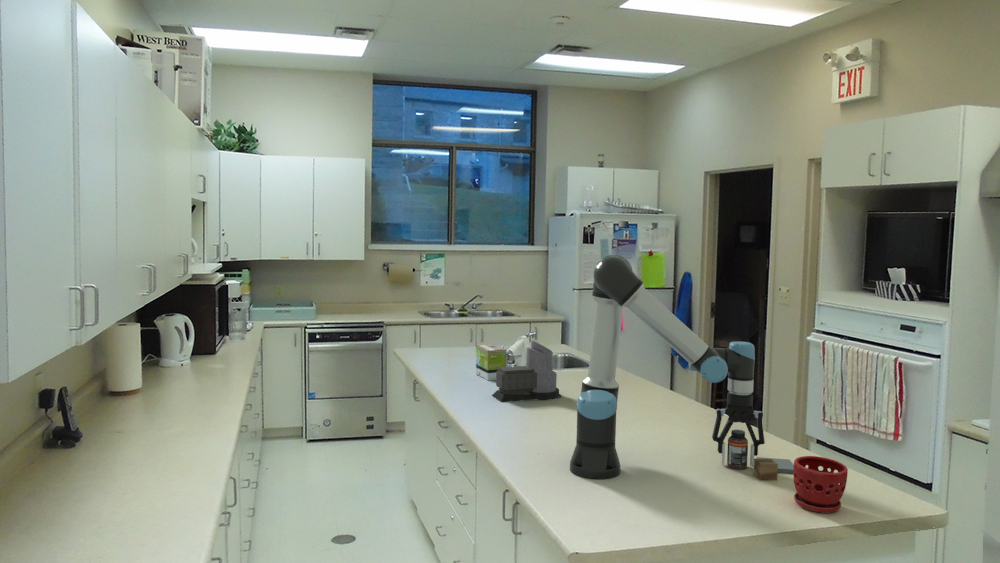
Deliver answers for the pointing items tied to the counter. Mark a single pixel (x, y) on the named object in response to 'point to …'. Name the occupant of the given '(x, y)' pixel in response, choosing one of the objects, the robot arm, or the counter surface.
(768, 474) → the walnut cube
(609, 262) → the robot arm
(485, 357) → the tea box
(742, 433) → the supplement bottle
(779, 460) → the coaster
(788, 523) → the counter surface
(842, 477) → the plant pot
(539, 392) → the juicer
